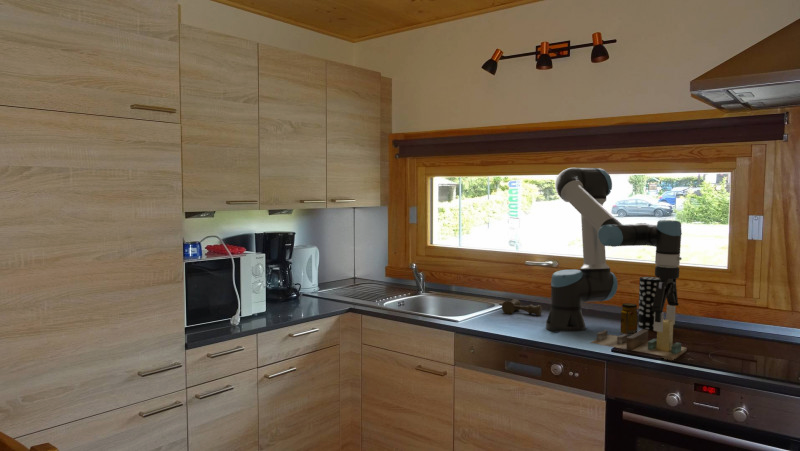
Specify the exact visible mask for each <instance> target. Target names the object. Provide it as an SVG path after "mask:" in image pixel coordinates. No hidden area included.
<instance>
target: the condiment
mask: <svg viewBox="0 0 800 451" xmlns="http://www.w3.org/2000/svg"><path fill="white" fill-rule="evenodd" d="M637 307H638V305H637V304H635V303H632V302H631V303H629V302H625V303H622V305H621V308H622V310H621V311H620V334H621V333H622V334H628V335H633V334H635V333H637V332H638V317H639V311H638V308H637Z"/></svg>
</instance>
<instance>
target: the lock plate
mask: <svg viewBox="0 0 800 451" xmlns="http://www.w3.org/2000/svg"><path fill="white" fill-rule="evenodd" d="M589 343H590V344H595V345H601V346H607V347H611V348H617V349H622V350H629V351H633V352H634V351H635V352H639V353H645V354H651V355H655V356H656V355H657V356H660V359H661V358H664V359H663V360H667V359H668V361H672V360H673V361H674V359H675V360H676V359H677V358H679V357H680V356H681V355H683V354H684V353H686V352H687V350H688V348H687V347H685V346H682V343H681V342H675V343H673V345H672V346H671V351H670V352H666V351H660V350H656V347H657V338H652V339H651V340H649V329H643V328H641V329H640V330H639V331H637V333H635V334H630V335H629V334H624V333H622V334H620V335H614V334H608V330H601V331H599V332H597V333H596V339H594V340H591V341H590V342H589Z"/></svg>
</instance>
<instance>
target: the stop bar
mask: <svg viewBox="0 0 800 451" xmlns="http://www.w3.org/2000/svg"><path fill="white" fill-rule="evenodd" d="M673 338H674V325H673V321H672V320H666V319H664V318H663V332H658V331H656V339H657V347H656V350H660V351H666V352H670V351H671V346H672V345H674V343H673V341H674V340H673Z"/></svg>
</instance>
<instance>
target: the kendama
mask: <svg viewBox="0 0 800 451" xmlns="http://www.w3.org/2000/svg"><path fill="white" fill-rule="evenodd" d="M498 305H499V306H501V310H502V311H503V313H504V314H508V315H511V314H513V313H514V312H515V311H516V312H519V311H520V310H521V311H524V312H527V313H528V314H529V315H531V314H534V315H536V316H537V317H540V316H541V314H542V313H543V306H542V305H541V304H538V305H533V304H529V305H522V303H521V301H520V300H519V299H516V298H513V299H511V300H505V301H503V303H498Z"/></svg>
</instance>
